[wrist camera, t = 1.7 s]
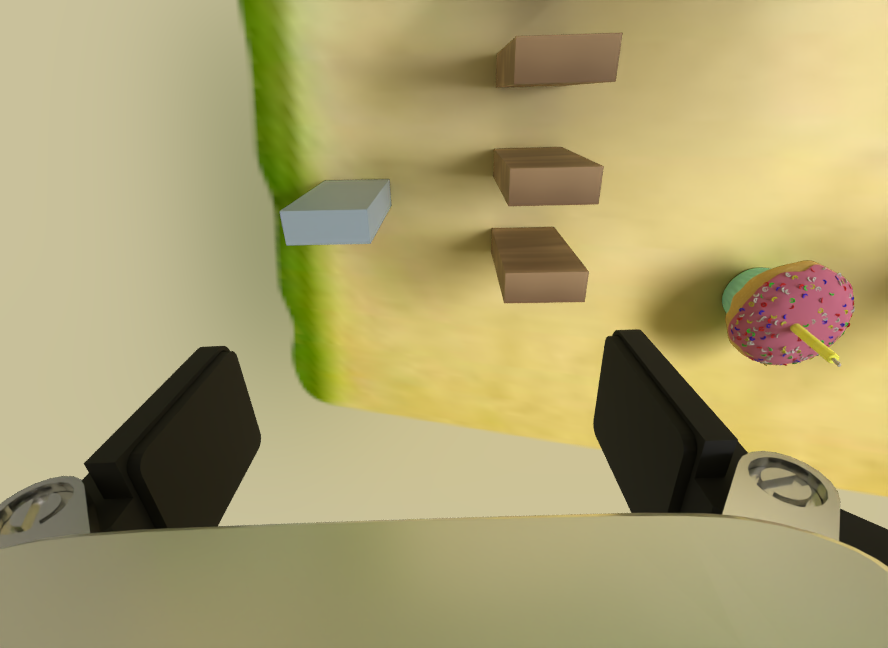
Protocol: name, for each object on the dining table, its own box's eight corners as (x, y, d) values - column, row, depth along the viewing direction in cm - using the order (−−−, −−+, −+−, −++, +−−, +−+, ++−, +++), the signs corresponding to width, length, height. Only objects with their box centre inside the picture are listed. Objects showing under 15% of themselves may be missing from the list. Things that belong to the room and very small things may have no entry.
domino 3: (494, 148, 32) (510, 168, 23) (561, 147, 32) (603, 166, 23) (493, 176, 33) (508, 206, 24) (559, 175, 33) (598, 204, 24)
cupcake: (684, 328, 39) (771, 415, 28) (725, 237, 35) (844, 299, 24) (775, 340, 39) (894, 430, 29) (825, 251, 35) (986, 318, 25)
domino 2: (496, 53, 29) (516, 35, 20) (570, 51, 29) (622, 32, 20) (495, 87, 30) (514, 84, 21) (567, 85, 30) (615, 81, 21)
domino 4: (491, 228, 35) (505, 273, 26) (554, 226, 35) (588, 271, 26) (491, 252, 36) (504, 303, 27) (551, 250, 36) (584, 302, 27)
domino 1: (324, 180, 33) (279, 211, 25) (389, 179, 33) (367, 209, 24) (328, 206, 34) (286, 245, 26) (391, 205, 34) (370, 243, 25)
